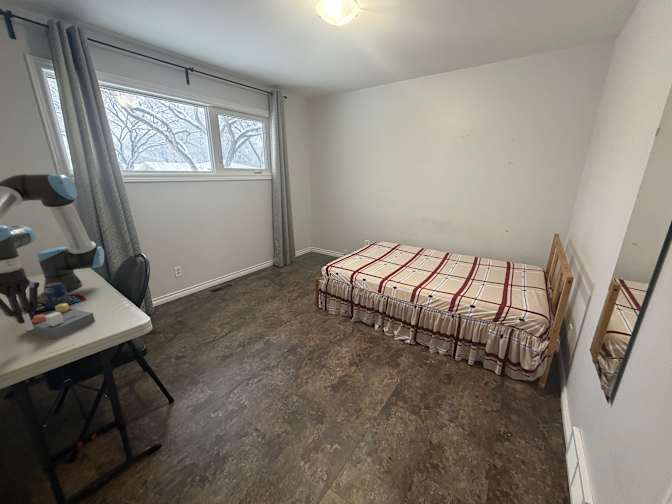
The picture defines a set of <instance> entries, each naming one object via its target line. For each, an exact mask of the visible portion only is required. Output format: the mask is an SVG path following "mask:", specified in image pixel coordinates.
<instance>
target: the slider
mask: <svg viewBox="0 0 672 504" xmlns="http://www.w3.org/2000/svg"><path fill="white" fill-rule="evenodd" d="M45 318H46V321H47V323H48V325H50V326H55V325H58V324H60V323H63V322H64V319H63V316H62V313H59V312H55V313H52V314H49V315H47V316H45Z"/></svg>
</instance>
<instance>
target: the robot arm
mask: <svg viewBox="0 0 672 504" xmlns="http://www.w3.org/2000/svg"><path fill="white" fill-rule="evenodd" d="M76 198H78V192H77V186H76V185H75V184H74V182H73V180H72V179H71V178H70V177H68V176H66V175H64V174H54V173H50V174H45V173H44V174H16V175H12V176H10V177H7V178H5V179H2V180H0V223H2V222H3V220H4V219H5V218H6V217H7V215H8V214H9V213H10V212H11V210H12V209H13V208H14V207H16V206H19V205H20V204H22V203H23V202H27V201H40V202H41V204H42V205H43V206H44V207H46V208H49V210H50V211H51V213H52V215H53V218H54V219H55V221H56V222H57V224H58V226H59V229H60V230H61V232H62V234H63V235H64V237H65V239H66V241H67V243H68V245H69V247H67V246H58V247H53V248H47V249H46V250H42V251H40V252H38V253H37V261H38V263H39V265H40V266H39V267H40V268H41V271H42V274H43V277H44V284H43V289H44V288H45V285H46V284H49V283H53V282H62V283H63V284H64V285H65V288H66V291H67V293H68V292H72V291H74V290H78V289H80V288H81V287H82V286H83V282H82V280H81V279H80V278H79V276H78V275H77V274H76V273H75V271H74V270H76V271H77V270H82V269H83V270H84V269H94V268H98V267H102V266H103V264H104V262H105V250H104V248H103V247H102V246H97V244H96V243H95V242H94V241H92V240H91V239H90V237H89V235H88V233H87V230H86V229H85V226H84V225H83V222H82V220H81V218H80V215H79V214H78V212H77V209H76V208H75V205H74V204H75V201H76ZM35 239H36V232H35V230H33V229H32V228H31V227H28V226H25V225H13V226H9V227H8V226H7V225H4V224H3V225H2V224H0V294H1V295H3V296H5V297H6V299H8V303H9V305H10V307H9V306H8V305H7V304H6V302H5V301H4V300H3V299H2V298H1V297H0V310H1V312H3V313H4V315H6V316H8V317H11V318H12V317H15V318H16V319H15V320H16V322H17V323H18V324H20V325H22V328H23V330H25V331H27V330H28V331H29V330H32V329H34V327H33V324H32V322H31V320H32V319H34V314H33V312H34V309H35V310H36V309H37V308H38V306H39V305H38V291H39V290H38V288H39V287H40V285H41V284H40V282H39V281H38V282H37V281H30V279H29V278H28V277H27V274H26V272H25V269H24V268H23V263H22V261H21V258H20V255H19V253H18V250H17V249H19V248H22V247H25V246H27V245H28V246H29V244H31V243H33V242H34V240H35ZM28 288H29V289H28ZM27 289H28V296H27V292H26V290H27ZM43 291H44V290H43ZM44 293H45V291H44ZM18 300H19V301H18ZM20 306H21V307H20ZM21 308H22V309H21ZM22 311H23V312H22ZM28 331H27V332H28Z"/></svg>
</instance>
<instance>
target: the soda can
mask: <svg viewBox="0 0 672 504" xmlns="http://www.w3.org/2000/svg"><path fill="white" fill-rule="evenodd" d="M43 291H45V292H44V294H45V296H46V299H47V302H48V305H49V308H51V309H52V310H56V309H55V306H56V305H59V304H63V303H68V306H69V305H70V303H71V300H70V297H69V294H68V292H67V291H66V288H65V285H64V284H63V283H62V282H53V283H49V284H46V285H45V288H44V287H43Z"/></svg>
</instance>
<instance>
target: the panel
mask: <svg viewBox="0 0 672 504" xmlns="http://www.w3.org/2000/svg"><path fill="white" fill-rule="evenodd" d="M69 309H70V310H69V311H68V312H65V313H62V316H63V319H64V322H63V323H60V324H58V325H55V326H50V325H48V323H47V321H43V322H41V323H38V324H33V323H32V324H33V327H34V329H32V330H29V331H28V330H26V332H28V333H32V334H35V335H39V336H42V337H46V338H49V339H52V340H56V339H58V338H61V337H63V336H65V335H68V334H70V333H73V332H74V331H77V330H79V329H82V328H84V327H85V326H87V325H89V324H93V323H95V321H96V319H95V316H94V313H93V312H90V311H85V310H81V309H77V308H72V307H69ZM55 312H56V310H53V311H51V312H49V313H46V314H45V316H47V315H49V314H52V313H55ZM31 322H32V320H31Z"/></svg>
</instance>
